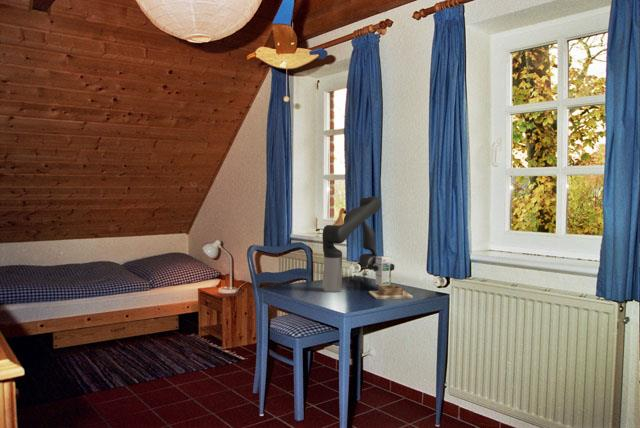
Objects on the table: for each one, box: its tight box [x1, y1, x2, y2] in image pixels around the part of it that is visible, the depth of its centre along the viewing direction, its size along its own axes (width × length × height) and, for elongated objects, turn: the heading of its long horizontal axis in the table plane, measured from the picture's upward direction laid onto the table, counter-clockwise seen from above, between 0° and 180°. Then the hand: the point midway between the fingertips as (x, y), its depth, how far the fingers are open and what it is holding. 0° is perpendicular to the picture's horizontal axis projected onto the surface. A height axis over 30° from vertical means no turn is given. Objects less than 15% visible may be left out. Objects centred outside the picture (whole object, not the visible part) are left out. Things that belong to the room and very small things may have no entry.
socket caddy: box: [368, 284, 414, 300], centre depth 265 cm, size 18×14×4 cm
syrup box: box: [374, 255, 392, 286], centre depth 277 cm, size 6×6×14 cm
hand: (384, 268), depth 275 cm, fingers closed on syrup box, 7 cm apart
